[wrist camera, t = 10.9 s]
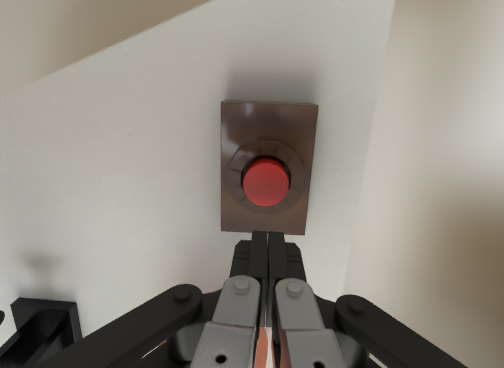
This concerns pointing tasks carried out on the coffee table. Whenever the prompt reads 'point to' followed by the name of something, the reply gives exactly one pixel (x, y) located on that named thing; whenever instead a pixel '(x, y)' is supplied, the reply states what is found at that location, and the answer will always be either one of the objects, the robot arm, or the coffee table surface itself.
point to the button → (265, 182)
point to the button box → (266, 146)
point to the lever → (1, 316)
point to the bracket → (39, 332)
